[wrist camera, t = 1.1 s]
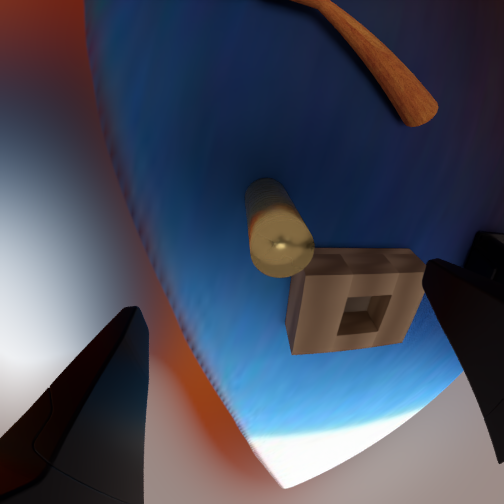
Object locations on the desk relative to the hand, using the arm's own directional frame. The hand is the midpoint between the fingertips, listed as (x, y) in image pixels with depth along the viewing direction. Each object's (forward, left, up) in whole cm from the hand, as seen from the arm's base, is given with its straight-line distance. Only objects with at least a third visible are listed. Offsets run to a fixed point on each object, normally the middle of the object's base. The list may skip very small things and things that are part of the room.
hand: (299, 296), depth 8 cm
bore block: (-8, +9, -13) cm, 18 cm away
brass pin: (0, +1, -13) cm, 13 cm away
